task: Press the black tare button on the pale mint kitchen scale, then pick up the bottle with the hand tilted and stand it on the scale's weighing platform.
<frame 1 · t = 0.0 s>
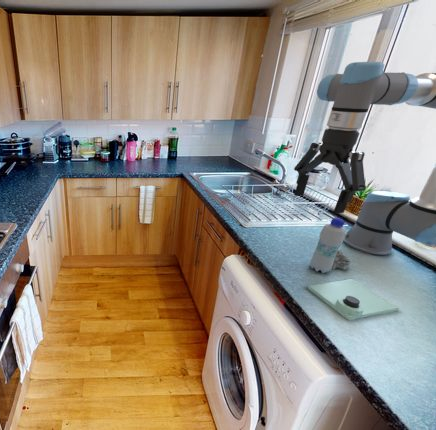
hand: (317, 203, 84), 28 cm above the worktop, tool pointing down, fingers open, 13 cm apart
tare button: (351, 301, 81), point 4 cm above the worktop, slide at 0.2 cm
bottle: (318, 269, 102), on the worktop
scale: (350, 299, 88), on the worktop
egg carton: (331, 262, 106), on the worktop
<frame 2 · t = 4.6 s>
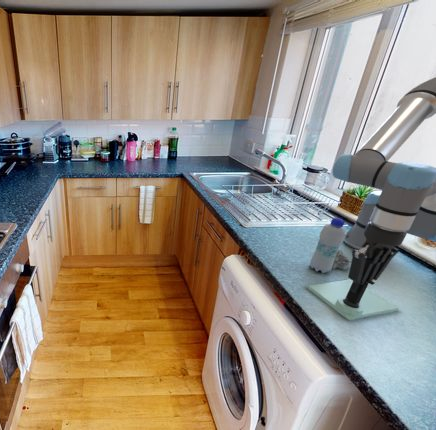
hand: (352, 299, 81), 4 cm above the worktop, tool pointing down, fingers closed
tare button: (351, 302, 82), point 3 cm above the worktop, slide at -0.2 cm, touching gripper
everything else where it was.
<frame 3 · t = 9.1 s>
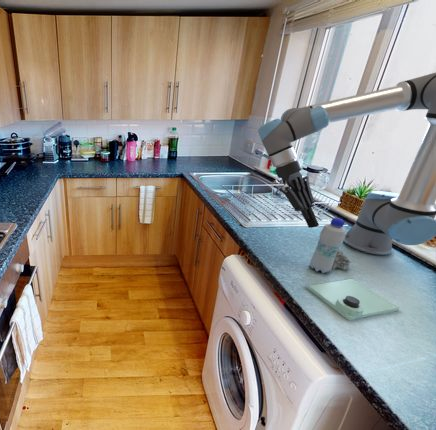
hand: (313, 226, 98), 16 cm above the worktop, tool tilted 35°, fingers closed
tare button: (351, 301, 81), point 4 cm above the worktop, slide at 0.2 cm
everything else where it was.
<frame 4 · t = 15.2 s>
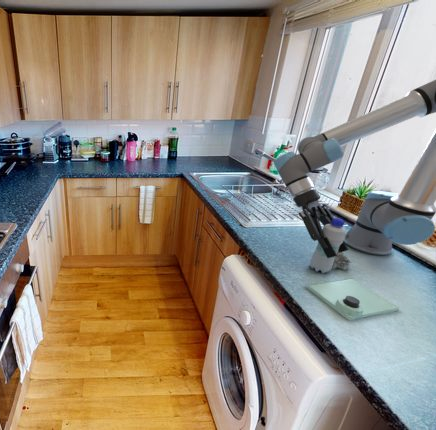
hand: (338, 253, 96), 8 cm above the worktop, tool tilted 45°, fingers closed on bottle, 7 cm apart
bottle: (318, 269, 102), on the worktop, touching gripper
everything else where it was.
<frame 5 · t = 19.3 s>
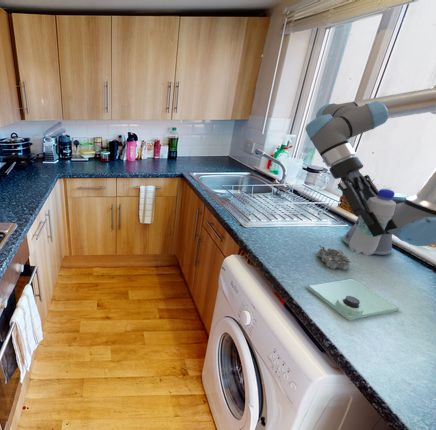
hand: (385, 232, 81), 22 cm above the worktop, tool tilted 45°, fingers closed on bottle, 7 cm apart
bottle: (359, 252, 87), point 14 cm above the worktop, touching gripper
everything else where it was.
when the fingers open (10 cm above the worktop, at t = 23.4 s): bottle stays where it is, resting on scale.
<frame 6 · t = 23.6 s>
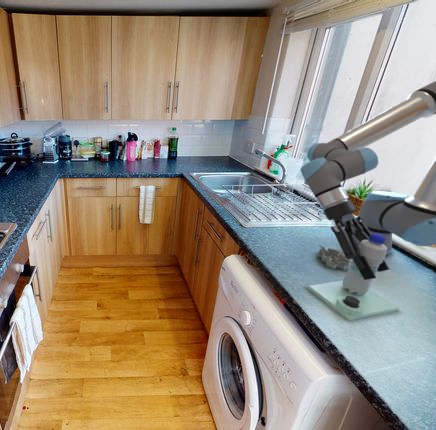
hand: (377, 274, 83), 10 cm above the worktop, tool tilted 45°, fingers open, 8 cm apart
bottle: (352, 290, 90), point 1 cm above the worktop, touching scale
everything else where it was.
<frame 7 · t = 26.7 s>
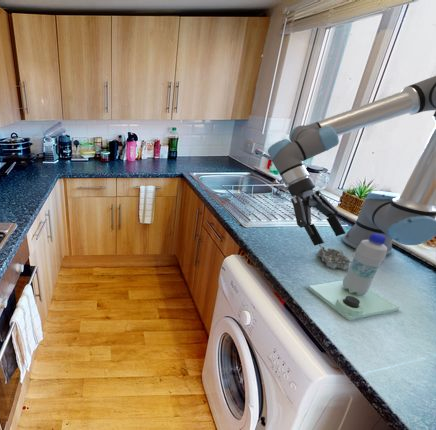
hand: (330, 239, 93), 14 cm above the worktop, tool tilted 45°, fingers open, 13 cm apart
nothing on the worktop moved.
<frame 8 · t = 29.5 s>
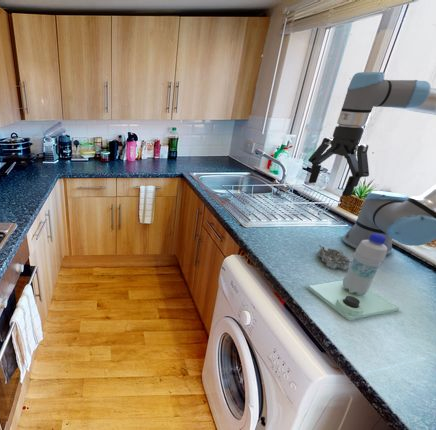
hand: (328, 188, 100), 27 cm above the worktop, tool pointing down, fingers open, 13 cm apart
nothing on the worktop moved.
at the end: tare button pushed in 1.0 cm at the most during the clip, back to 0.2 cm at the end; bottle inside the target area on the scale (0.1 cm from its centre), point 1.0 cm above the scale's base; bottle tilted 0° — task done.
